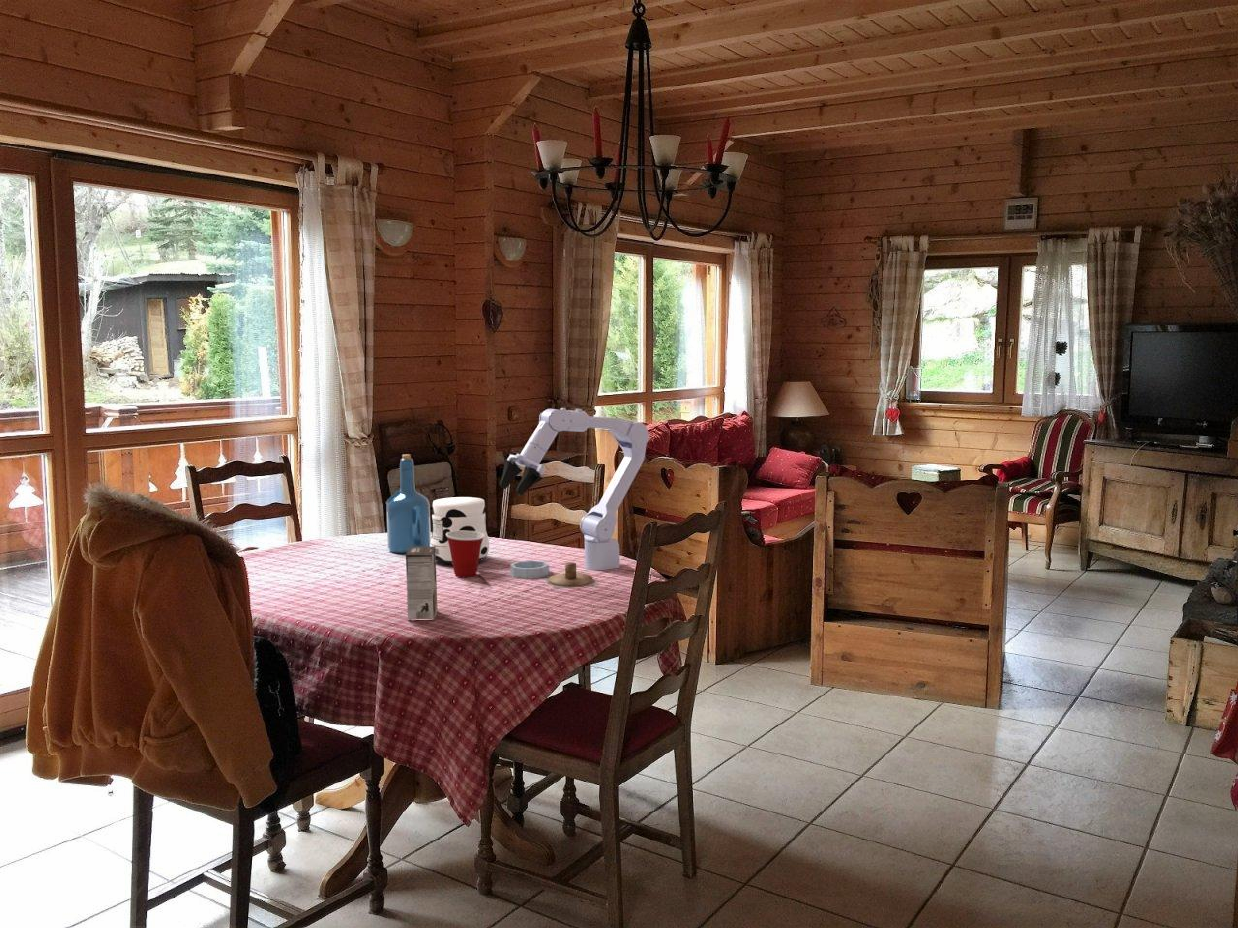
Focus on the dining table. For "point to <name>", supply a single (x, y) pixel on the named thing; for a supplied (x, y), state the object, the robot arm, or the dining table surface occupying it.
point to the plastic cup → (465, 551)
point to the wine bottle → (407, 513)
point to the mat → (571, 586)
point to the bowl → (529, 569)
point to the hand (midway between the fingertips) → (510, 490)
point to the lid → (570, 577)
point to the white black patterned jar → (457, 523)
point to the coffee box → (421, 582)
